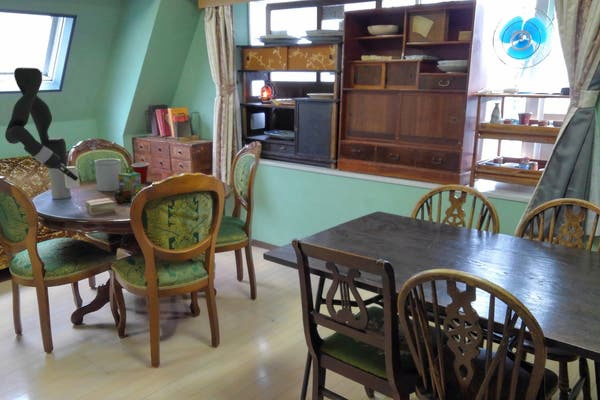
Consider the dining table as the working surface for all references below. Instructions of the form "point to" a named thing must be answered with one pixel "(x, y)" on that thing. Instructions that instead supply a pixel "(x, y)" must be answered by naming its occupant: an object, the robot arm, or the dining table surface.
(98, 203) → the block
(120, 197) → the decorative turtle
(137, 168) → the plastic cup
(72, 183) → the tin
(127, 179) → the chalk box
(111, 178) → the utensil holder
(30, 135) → the robot arm
